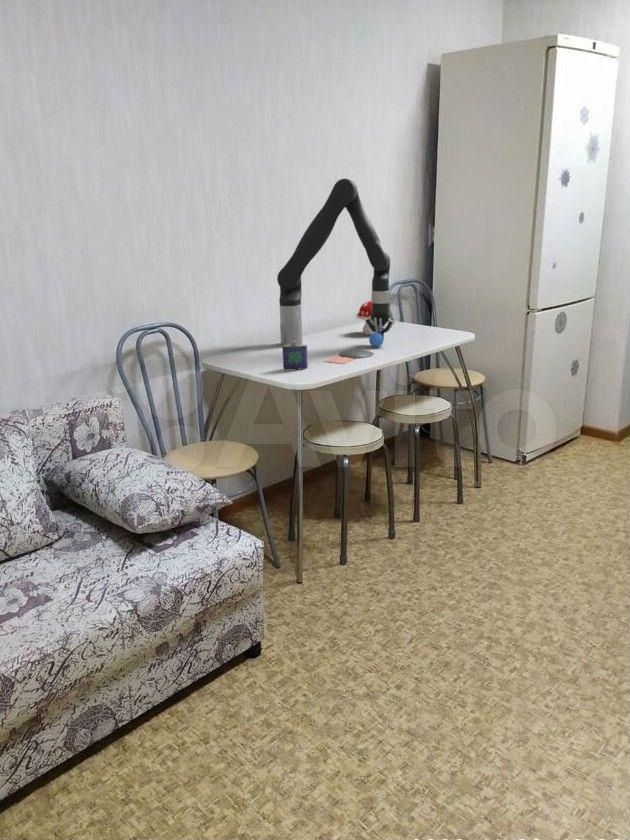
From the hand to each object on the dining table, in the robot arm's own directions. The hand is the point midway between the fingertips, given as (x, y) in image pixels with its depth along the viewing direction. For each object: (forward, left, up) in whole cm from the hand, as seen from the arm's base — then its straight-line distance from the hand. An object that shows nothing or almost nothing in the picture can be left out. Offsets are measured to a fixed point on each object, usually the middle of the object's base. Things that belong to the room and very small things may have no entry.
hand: (379, 342), depth 303 cm
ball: (-2, -4, +2) cm, 5 cm away
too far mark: (-18, -27, -1) cm, 32 cm away
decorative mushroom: (-2, +24, -2) cm, 24 cm away
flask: (-35, -38, -2) cm, 52 cm away
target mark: (-11, -17, -1) cm, 20 cm away
